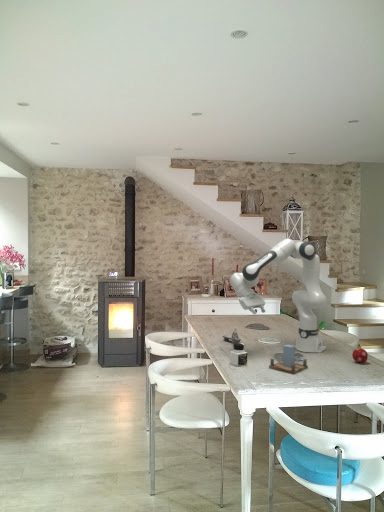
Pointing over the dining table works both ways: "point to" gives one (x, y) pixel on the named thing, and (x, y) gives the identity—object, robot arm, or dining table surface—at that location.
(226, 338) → the sculpture
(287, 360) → the blue block
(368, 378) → the dining table surface
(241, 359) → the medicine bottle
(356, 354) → the christmas ornament
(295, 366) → the peg board
